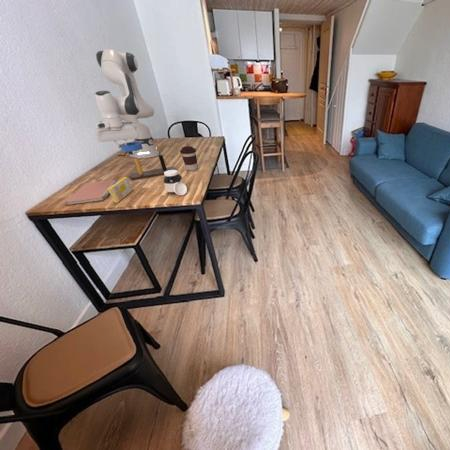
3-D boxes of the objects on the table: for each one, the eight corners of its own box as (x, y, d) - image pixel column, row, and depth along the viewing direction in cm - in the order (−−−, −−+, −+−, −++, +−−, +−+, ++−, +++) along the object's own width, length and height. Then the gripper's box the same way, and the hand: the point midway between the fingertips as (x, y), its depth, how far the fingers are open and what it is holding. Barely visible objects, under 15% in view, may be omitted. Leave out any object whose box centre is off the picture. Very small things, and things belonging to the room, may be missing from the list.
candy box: (129, 190, 142) (124, 176, 137) (133, 190, 142) (128, 176, 138) (113, 203, 128) (107, 188, 124) (118, 202, 128) (111, 188, 124)
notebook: (105, 200, 131) (103, 196, 130) (67, 205, 126) (65, 201, 125) (118, 182, 153) (117, 179, 152) (86, 185, 148) (85, 182, 147)
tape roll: (122, 152, 146) (120, 146, 145) (122, 148, 154) (120, 143, 152) (143, 149, 151) (141, 144, 149) (142, 146, 159) (140, 141, 157)
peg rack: (131, 180, 155) (125, 162, 149) (131, 175, 163) (124, 158, 157) (176, 172, 167) (171, 155, 161) (173, 168, 174) (169, 152, 168)
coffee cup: (202, 167, 176) (198, 146, 168) (193, 172, 168) (188, 149, 160) (191, 166, 179) (186, 145, 171) (181, 170, 171) (175, 148, 163)
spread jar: (174, 187, 145) (169, 168, 138) (193, 188, 144) (188, 169, 137) (163, 196, 134) (156, 176, 128) (182, 197, 133) (177, 176, 127)
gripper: (134, 120, 149) (142, 144, 157) (92, 124, 140) (103, 148, 147) (134, 122, 145) (142, 146, 152) (91, 125, 136) (102, 151, 143)
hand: (122, 147), depth 150 cm, fingers closed on tape roll, 2 cm apart
